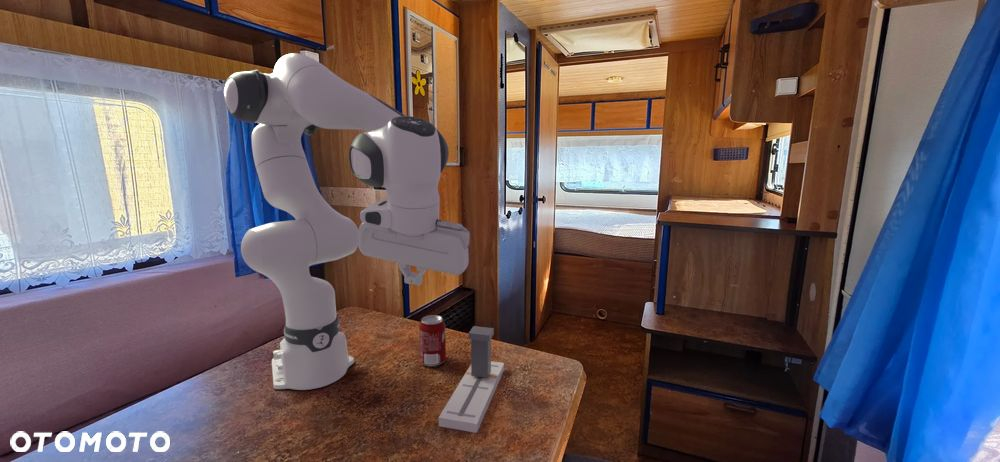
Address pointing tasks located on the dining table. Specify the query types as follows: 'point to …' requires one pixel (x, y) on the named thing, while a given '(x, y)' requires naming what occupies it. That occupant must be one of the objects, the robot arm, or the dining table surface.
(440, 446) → the dining table surface
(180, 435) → the dining table surface
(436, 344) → the soda can
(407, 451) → the dining table surface
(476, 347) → the slider knob
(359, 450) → the dining table surface
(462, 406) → the slider box
